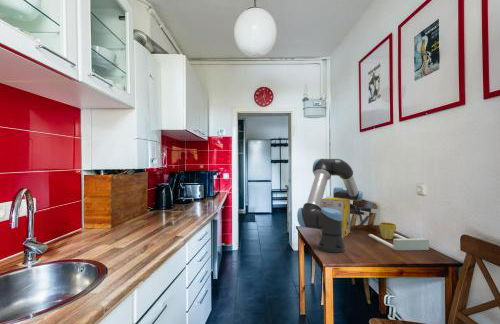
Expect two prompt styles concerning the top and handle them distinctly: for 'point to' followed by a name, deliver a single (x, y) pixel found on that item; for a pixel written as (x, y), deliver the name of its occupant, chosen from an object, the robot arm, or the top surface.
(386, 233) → the plant pot
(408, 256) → the top surface
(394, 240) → the guide track
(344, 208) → the packaging box
